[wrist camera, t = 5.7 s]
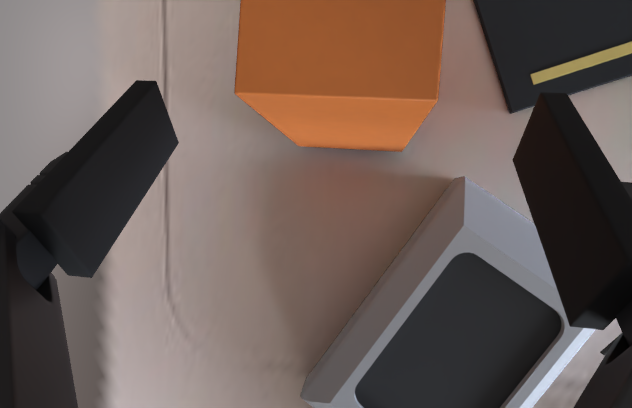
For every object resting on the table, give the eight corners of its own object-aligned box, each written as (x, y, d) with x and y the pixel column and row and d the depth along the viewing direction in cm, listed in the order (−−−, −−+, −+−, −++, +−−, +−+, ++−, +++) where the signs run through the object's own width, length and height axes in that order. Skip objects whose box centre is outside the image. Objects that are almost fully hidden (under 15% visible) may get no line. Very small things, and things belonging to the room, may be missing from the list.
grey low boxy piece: (647, 293, 18) (450, 535, 19) (598, 277, 21) (436, 480, 22) (471, 174, 19) (294, 411, 20) (454, 178, 22) (305, 378, 23)
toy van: (312, -16, 23) (256, -243, 11) (413, -16, 22) (466, -260, 11) (301, 148, 23) (233, 93, 12) (400, 154, 23) (438, 101, 11)
